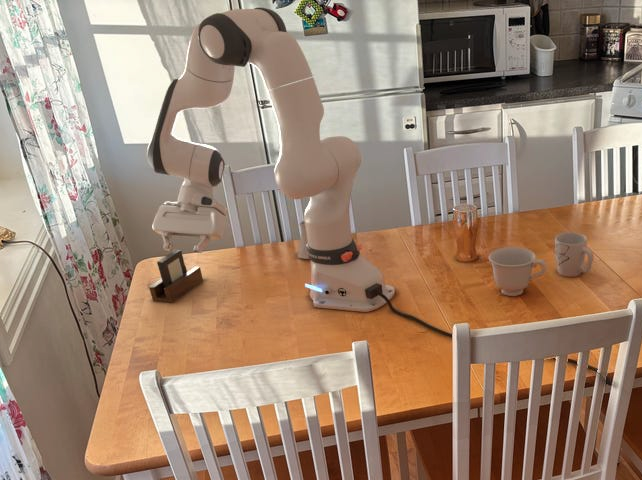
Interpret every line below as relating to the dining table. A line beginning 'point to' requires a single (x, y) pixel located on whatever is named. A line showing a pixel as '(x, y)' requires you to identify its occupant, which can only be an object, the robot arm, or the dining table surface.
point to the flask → (303, 242)
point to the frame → (171, 267)
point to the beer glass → (465, 231)
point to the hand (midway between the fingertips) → (182, 251)
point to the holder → (176, 286)
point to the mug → (572, 254)
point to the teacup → (514, 269)
